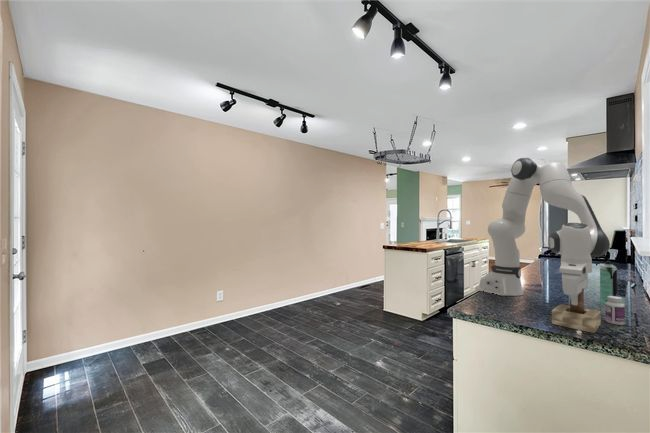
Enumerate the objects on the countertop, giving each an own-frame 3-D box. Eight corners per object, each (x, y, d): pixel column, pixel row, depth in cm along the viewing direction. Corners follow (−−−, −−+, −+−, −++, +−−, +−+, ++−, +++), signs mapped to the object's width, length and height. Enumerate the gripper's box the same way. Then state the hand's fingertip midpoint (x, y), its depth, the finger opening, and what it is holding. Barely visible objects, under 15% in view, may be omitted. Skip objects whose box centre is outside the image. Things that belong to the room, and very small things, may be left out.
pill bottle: (625, 322, 112) (625, 297, 112) (624, 326, 108) (624, 299, 108) (605, 319, 116) (605, 294, 116) (604, 322, 112) (604, 297, 112)
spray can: (620, 308, 129) (620, 262, 129) (606, 307, 130) (605, 261, 130) (611, 304, 135) (610, 260, 135) (597, 303, 136) (596, 260, 136)
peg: (568, 314, 111) (568, 287, 111) (571, 312, 114) (571, 285, 114) (582, 316, 108) (582, 289, 108) (585, 314, 111) (584, 287, 111)
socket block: (551, 323, 112) (551, 310, 112) (560, 316, 119) (560, 304, 119) (594, 333, 103) (594, 318, 103) (600, 324, 110) (600, 311, 110)
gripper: (572, 262, 120) (572, 296, 120) (558, 268, 107) (558, 306, 107) (592, 264, 115) (593, 299, 115) (580, 270, 102) (581, 311, 102)
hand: (576, 303), depth 111 cm, fingers closed on peg, 4 cm apart
